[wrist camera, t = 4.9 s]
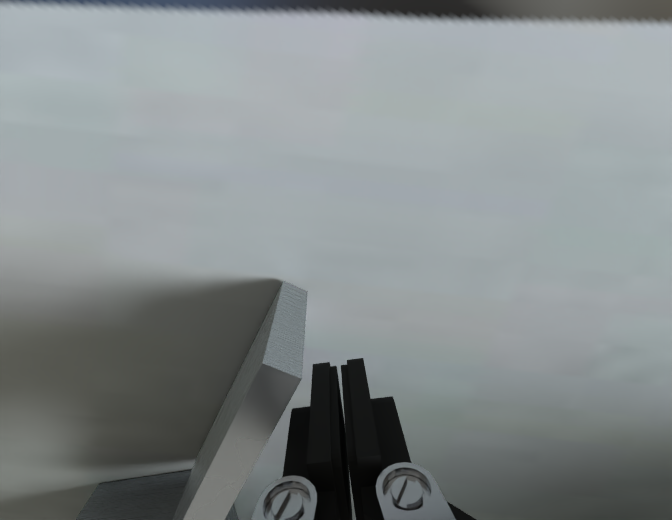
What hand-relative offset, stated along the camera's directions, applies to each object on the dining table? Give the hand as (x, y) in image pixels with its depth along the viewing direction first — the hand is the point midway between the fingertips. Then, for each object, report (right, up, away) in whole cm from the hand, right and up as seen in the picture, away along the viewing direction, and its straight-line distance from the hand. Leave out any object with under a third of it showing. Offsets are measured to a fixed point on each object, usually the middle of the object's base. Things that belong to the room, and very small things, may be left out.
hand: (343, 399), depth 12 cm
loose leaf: (-4, 0, +3) cm, 5 cm away
